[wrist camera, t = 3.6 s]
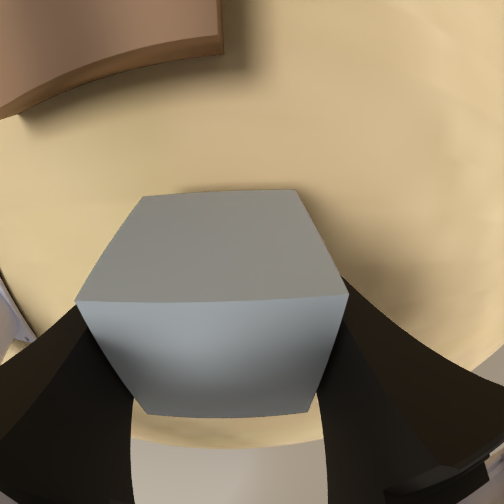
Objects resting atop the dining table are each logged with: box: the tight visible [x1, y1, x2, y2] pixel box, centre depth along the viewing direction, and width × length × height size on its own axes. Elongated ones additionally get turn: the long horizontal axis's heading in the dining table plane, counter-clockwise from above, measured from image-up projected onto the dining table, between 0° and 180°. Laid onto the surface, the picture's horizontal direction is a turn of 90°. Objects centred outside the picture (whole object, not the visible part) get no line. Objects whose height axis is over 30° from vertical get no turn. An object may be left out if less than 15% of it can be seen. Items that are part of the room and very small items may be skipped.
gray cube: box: [74, 190, 349, 418], centre depth 8 cm, size 5×5×5 cm
